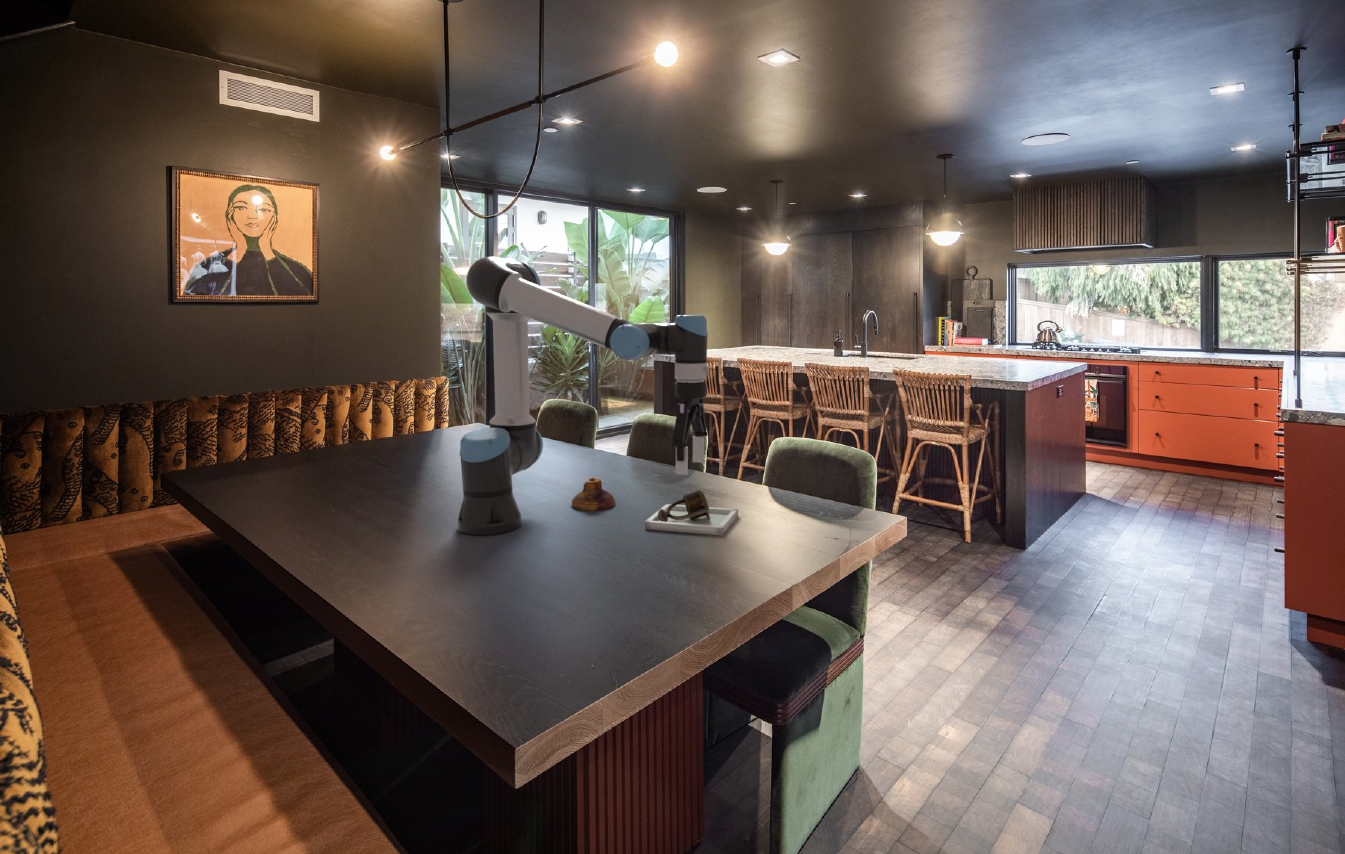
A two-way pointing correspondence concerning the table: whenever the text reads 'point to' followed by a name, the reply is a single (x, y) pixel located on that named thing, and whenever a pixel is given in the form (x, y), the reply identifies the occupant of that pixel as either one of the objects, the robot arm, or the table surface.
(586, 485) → the bell
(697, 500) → the brown piece
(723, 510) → the tray
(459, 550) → the table surface
